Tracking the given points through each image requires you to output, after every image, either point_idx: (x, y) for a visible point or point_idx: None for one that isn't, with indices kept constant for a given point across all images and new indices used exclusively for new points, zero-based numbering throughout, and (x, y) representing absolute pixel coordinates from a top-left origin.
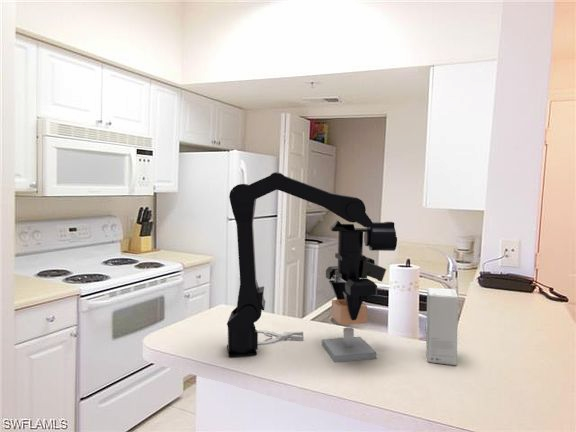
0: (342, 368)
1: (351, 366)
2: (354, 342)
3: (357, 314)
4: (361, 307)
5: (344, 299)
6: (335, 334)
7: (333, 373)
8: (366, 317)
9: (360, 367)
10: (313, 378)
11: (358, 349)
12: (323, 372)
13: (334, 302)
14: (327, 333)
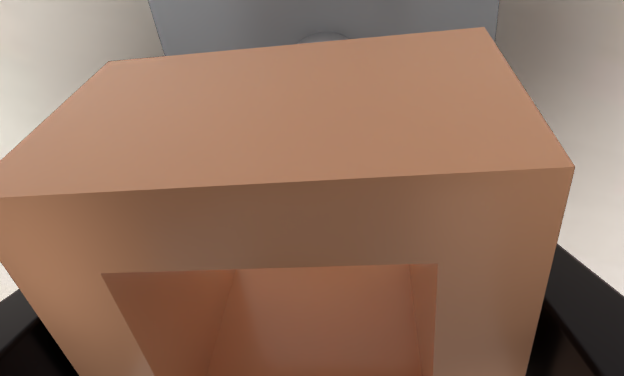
0: (566, 147)
1: (561, 91)
2: (267, 4)
3: (559, 252)
4: (548, 258)
5: (86, 371)
6: (8, 61)
7: (604, 202)
8: (505, 63)
9: (599, 38)
10: (612, 284)
11: (417, 13)
12: (572, 240)
13: None
14: (5, 110)
